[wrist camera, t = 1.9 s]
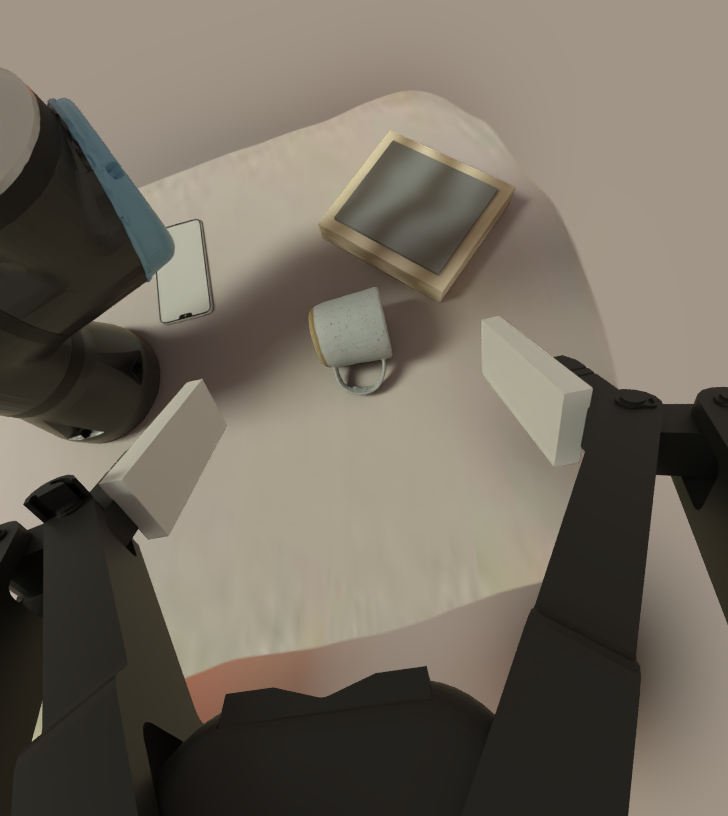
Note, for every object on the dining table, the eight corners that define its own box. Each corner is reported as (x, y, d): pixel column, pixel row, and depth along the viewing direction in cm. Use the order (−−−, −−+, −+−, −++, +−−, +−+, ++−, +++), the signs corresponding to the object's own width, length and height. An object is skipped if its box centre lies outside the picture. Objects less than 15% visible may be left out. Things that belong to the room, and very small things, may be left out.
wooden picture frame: (322, 237, 44) (317, 221, 41) (390, 148, 45) (389, 127, 43) (439, 303, 40) (442, 290, 37) (508, 204, 42) (516, 184, 39)
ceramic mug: (317, 323, 42) (299, 291, 34) (381, 307, 41) (377, 271, 33) (333, 404, 39) (318, 389, 32) (401, 388, 39) (401, 369, 31)
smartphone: (200, 216, 46) (212, 311, 43) (203, 220, 47) (215, 314, 44) (151, 230, 47) (159, 325, 44) (154, 234, 48) (163, 328, 44)
